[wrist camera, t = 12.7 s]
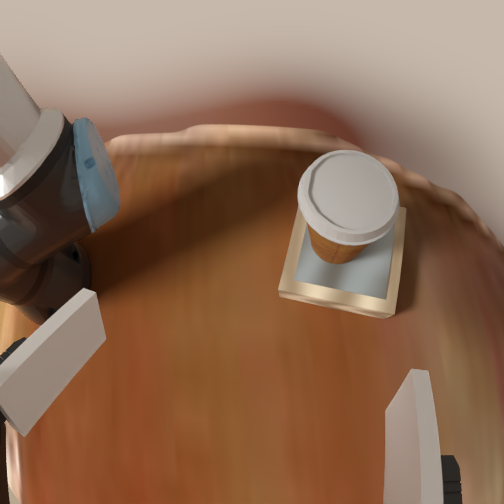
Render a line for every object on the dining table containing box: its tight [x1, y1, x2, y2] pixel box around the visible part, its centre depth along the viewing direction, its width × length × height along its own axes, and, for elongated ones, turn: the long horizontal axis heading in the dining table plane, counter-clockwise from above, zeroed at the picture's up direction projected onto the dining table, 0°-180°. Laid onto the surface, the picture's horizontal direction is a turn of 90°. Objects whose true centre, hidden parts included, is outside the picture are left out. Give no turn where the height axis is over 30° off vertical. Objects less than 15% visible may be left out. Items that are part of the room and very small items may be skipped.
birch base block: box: [278, 206, 406, 319], centre depth 40 cm, size 14×14×4 cm
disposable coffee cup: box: [298, 150, 399, 264], centre depth 33 cm, size 10×10×12 cm
